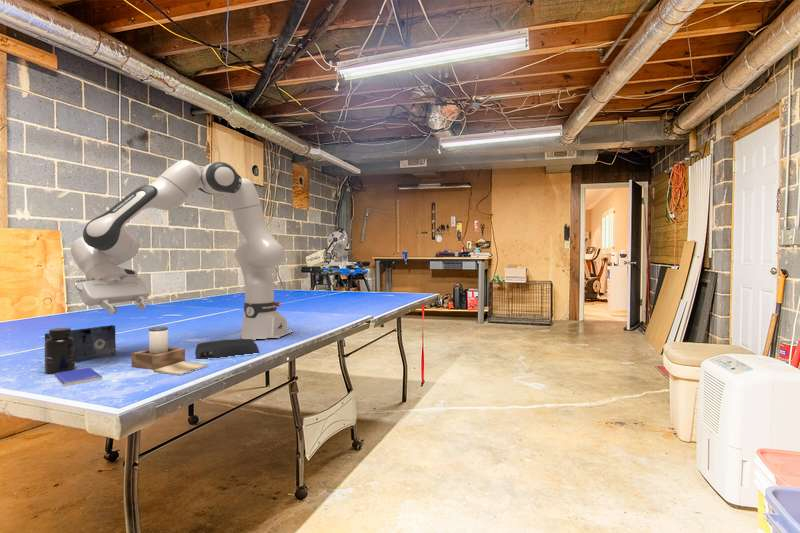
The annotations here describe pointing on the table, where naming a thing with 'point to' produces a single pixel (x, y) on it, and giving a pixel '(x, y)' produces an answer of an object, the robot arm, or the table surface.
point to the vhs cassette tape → (93, 342)
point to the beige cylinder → (158, 340)
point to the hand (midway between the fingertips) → (129, 310)
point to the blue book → (77, 376)
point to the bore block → (157, 358)
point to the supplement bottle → (59, 351)
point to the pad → (180, 368)
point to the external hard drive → (225, 348)
